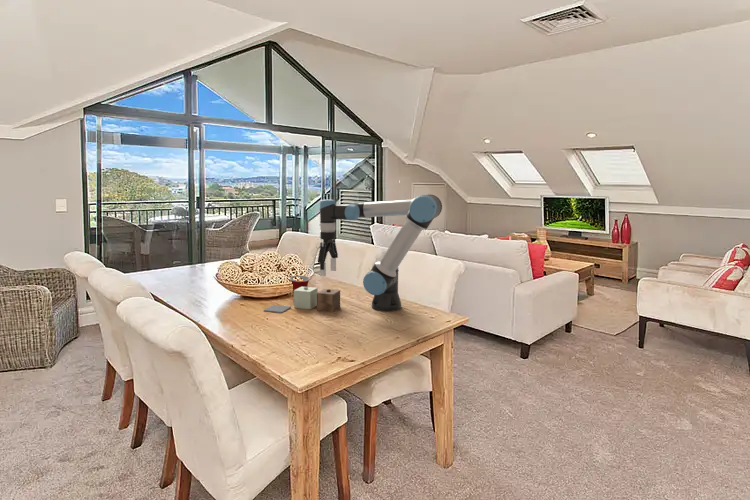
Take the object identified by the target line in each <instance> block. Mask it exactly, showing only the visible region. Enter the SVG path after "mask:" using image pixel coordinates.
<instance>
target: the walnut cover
mask: <svg viewBox="0 0 750 500" xmlns="http://www.w3.org/2000/svg"><path fill="white" fill-rule="evenodd" d="M338 309H341V289H330V288H322V289H321V290H319V291H318V292H317V305H316V311H321V312H330V313H334V312H336V311H338Z"/></svg>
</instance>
